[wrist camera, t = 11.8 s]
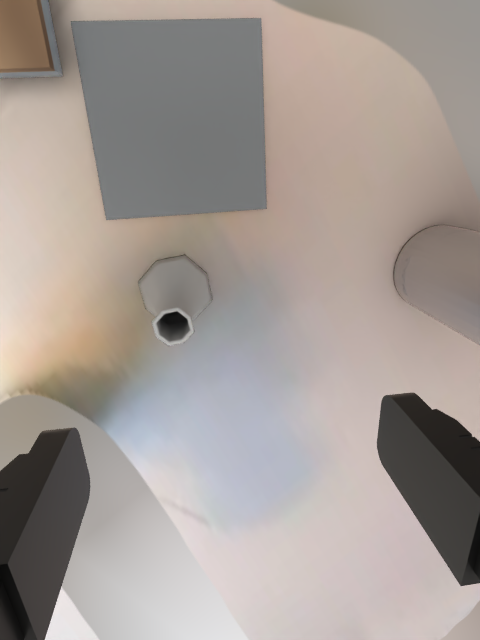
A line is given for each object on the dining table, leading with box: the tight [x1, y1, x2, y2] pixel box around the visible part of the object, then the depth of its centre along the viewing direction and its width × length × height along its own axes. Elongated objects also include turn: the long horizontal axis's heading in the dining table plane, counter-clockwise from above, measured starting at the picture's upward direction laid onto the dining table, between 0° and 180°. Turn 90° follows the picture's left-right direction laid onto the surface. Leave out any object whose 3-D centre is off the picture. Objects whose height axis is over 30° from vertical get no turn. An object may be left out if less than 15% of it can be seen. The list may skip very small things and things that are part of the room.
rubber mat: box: [71, 18, 267, 220], centre depth 33 cm, size 15×15×1 cm
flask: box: [138, 255, 212, 346], centre depth 34 cm, size 7×7×10 cm
